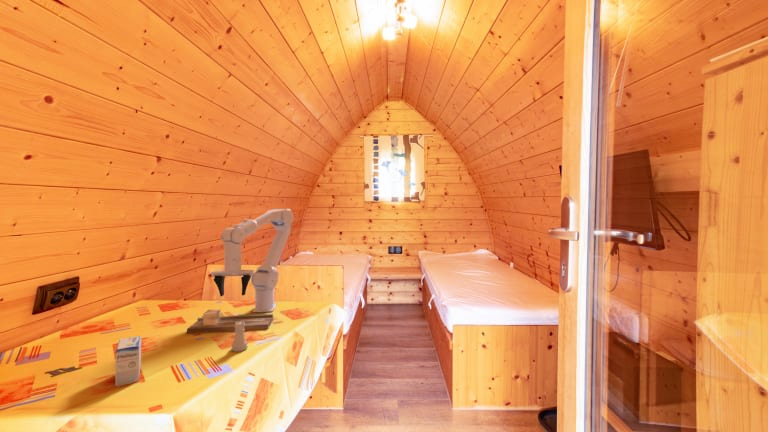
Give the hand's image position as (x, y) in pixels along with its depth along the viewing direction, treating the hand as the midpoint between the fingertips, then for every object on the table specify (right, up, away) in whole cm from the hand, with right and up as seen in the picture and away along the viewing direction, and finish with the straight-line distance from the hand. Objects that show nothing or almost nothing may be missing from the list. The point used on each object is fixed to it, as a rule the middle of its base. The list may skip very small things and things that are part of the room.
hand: (232, 295), depth 120 cm
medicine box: (-5, -10, -42) cm, 44 cm away
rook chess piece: (+14, -10, -26) cm, 31 cm away
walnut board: (+3, -9, -7) cm, 12 cm away
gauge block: (-4, -8, -8) cm, 12 cm away
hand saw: (-19, -10, -33) cm, 39 cm away
